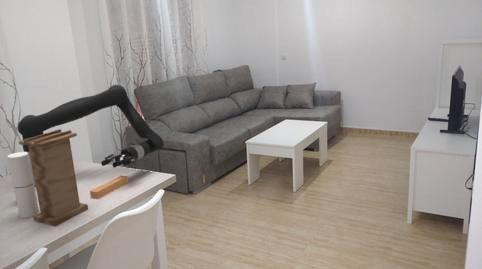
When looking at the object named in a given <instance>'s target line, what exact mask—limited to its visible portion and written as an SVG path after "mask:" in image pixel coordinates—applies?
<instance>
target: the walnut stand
mask: <svg viewBox="0 0 482 269" xmlns="http://www.w3.org/2000/svg"><path fill="white" fill-rule="evenodd" d="M77 136H78V134H77V132H72V130H70V129H69V130H66V131H62V129H61V128H59V129H55V130H51V131H49V132H45V133H43V134H41V135H38V136H35V137H31V138H28V139H24V140H23V139H22V140H20V141H18V145H21V146H23V145H28V147H29V153H30V158H31V163H32V169H33V174H34V180H35V185H36V186H35V189H36V190H35V191H36V197H37V202H38V207H39V213H38V214H36V215H34V216H32V218H33V222H36V223H40V224H45V225H48V226H53V227H57V226H60V225H61V224H64V223H65V222H67V221H68V220H71V219H72V218H74V217H76V216H79V214H82V213H83V212H84V213H85V212H86V211H87V210H89V204H86V203H81V202H80V197H79V191H78V189H79V188H78V184H77V178H76V172H75V165H74V159H73V152H72V146H71V140H70V139H72V138H75V137H77Z"/></svg>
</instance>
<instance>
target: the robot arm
mask: <svg viewBox="0 0 482 269" xmlns="http://www.w3.org/2000/svg"><path fill="white" fill-rule="evenodd" d="M127 92H128V91H127V90H126V89H125V87H123V86H122V85H121V84H113V85H111V86H110V87H109V88H108V89H107V90H104V91H102V92H100V93H97V94H94V95H90V96H84V97H83V96H82V97H80V98H76V99H73V100H70V101H67V102H65V103H63V104H61V105H58V106H56V107H55V108H52V109H51V110H48V111H47V112H45V113H42V114H38V115H33V114H28V115H25V116H23V117H22V118H21V119H20V121H19V122H18V124H17V131H18V133H19V134H20V135H21V136H22V141H23V140H24V139H28V138H31V137H35V136H38V135H41V134H44V132H45V131H47V130H49V129H52V128H54V127H57V126H61V125H65V124H68V123H71V122H74V121H77V120H79V119H82V118H85V117H87V116H90V115H92V114H94V113H96V112H98V111H101V110H103V109H107V108H109V107H110V108H111V107H115V106H116V107H118V109H119V110H120V111H121V112H122V114H123V115H124V117H125V118H126V119H127V121H128V123H129V124H130V126H131V127H132V129H133V131H134V132H135V133H136V134H137V136H138V137H139V138H140V139H147V140H144V141H142V142H138V143H137V144H134V145H131V146H128V147H126V148H123V149H121V151H120V153H118V154H115V155H114V153H112V154H109V155H108V156H105V157H104V160H102V161H101V166H102V167H105V166H107V165H110V164H112V168H117V167H119V166H129V165H130V164H133V163H135V162H136V161H139V160H141V159H142V158H144V157H146V156H148V155H149V154H151V153H154V152H157V151H159V150H161V149H163V148H164V146H165V143H164V140H163V138H162V137H161V136H160V135H159V134H158V133H157V132H156V131H154V130H153V129H151V127H150V125H149V124H148V123H147V122H146V121H145V119H144V117H142V114H140V113H139V112H138V110H137V109H136V108H135V106H134V105H133V104H132V102H131V99H130V98H129V96H128V93H127ZM22 149H23V152H28V155H29V161H30V166H31V172H32V177H33V183H34V187H36V185H35V180H34V174H33V169H32V163H31V158H30V153H29V147H28V145H22Z"/></svg>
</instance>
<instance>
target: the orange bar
mask: <svg viewBox="0 0 482 269" xmlns="http://www.w3.org/2000/svg"><path fill="white" fill-rule="evenodd" d="M128 183H129V177H128V176H127V175H119V176H118V177H115V178H113V179H111V180H109V181H107V182H105V183H103V184H101V185H99V186H98V187H95V188H93V189H91V190H90V191H89V194H90V198H91V199H94V200H99V199H101V198H102V197H104V196H106V195H108V194H110V193H112V192H114V191H116V190H118V189H120V188H121V187H123V186H125V185H127V184H128Z"/></svg>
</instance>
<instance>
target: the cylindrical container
mask: <svg viewBox="0 0 482 269" xmlns="http://www.w3.org/2000/svg"><path fill="white" fill-rule="evenodd" d="M7 162H8V165H9V166H8V167H9V171H10V176H11V181H12V187H13V190H14V191H13V192H14V196H15V201H16V206H17V207H16V208H17V211H18V214H19V215H18V216H19V217H20V218H23V219H24V218H29V217H30V218H31V217H33V216H35V215H37V214H39V213H40V208H39V203H38V197H37V192H36V190H35V189H36V187H35V186H34V183H33V177H32V172H31V166H30V161H29V155H28V152H24V151H20V152H19V151H18V152H14V153H10V154H8V155H7Z"/></svg>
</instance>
